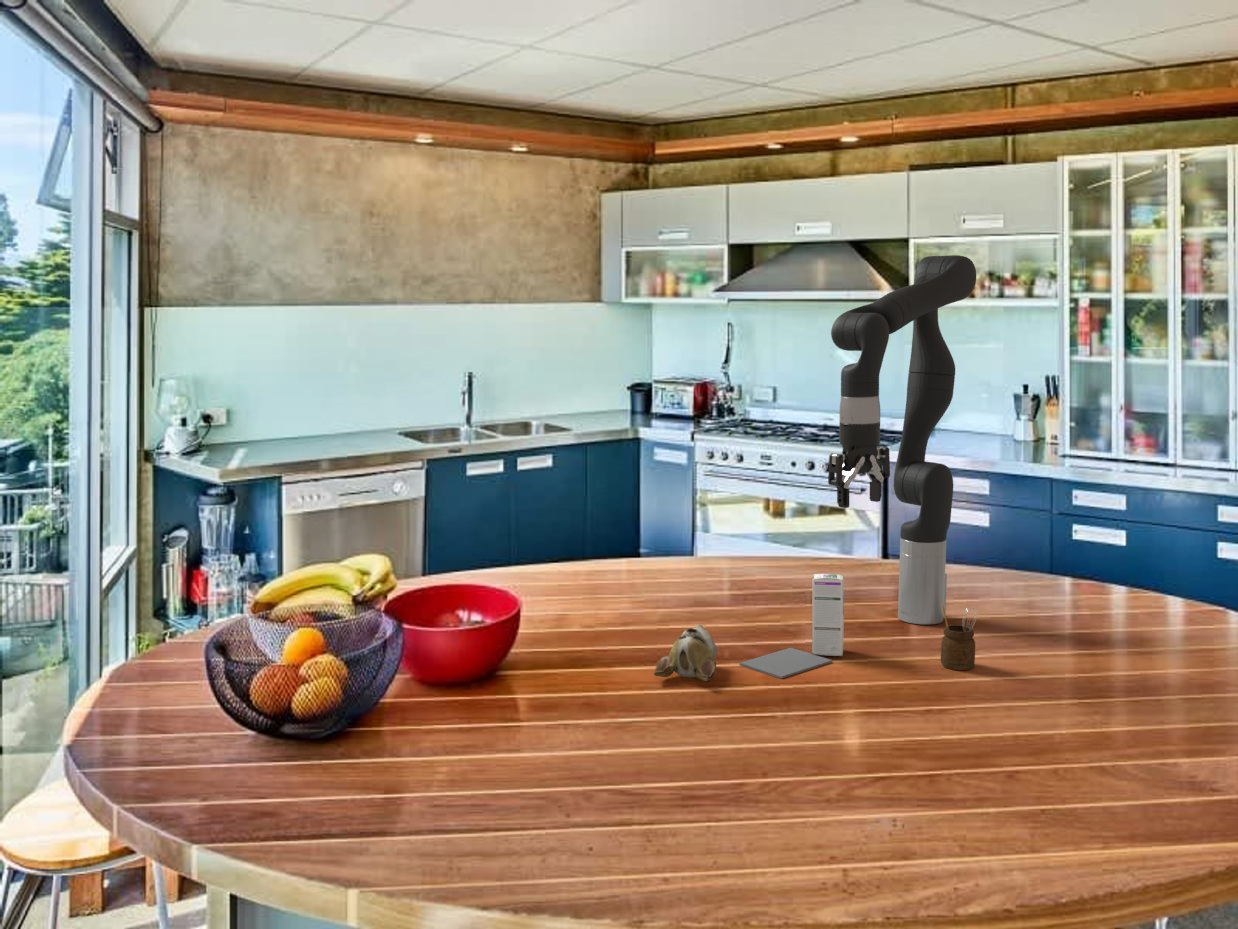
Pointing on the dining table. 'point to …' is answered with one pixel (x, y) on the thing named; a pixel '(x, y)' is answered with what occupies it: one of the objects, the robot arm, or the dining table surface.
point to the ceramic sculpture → (690, 656)
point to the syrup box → (827, 614)
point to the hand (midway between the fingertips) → (859, 504)
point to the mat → (785, 663)
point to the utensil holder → (958, 646)
